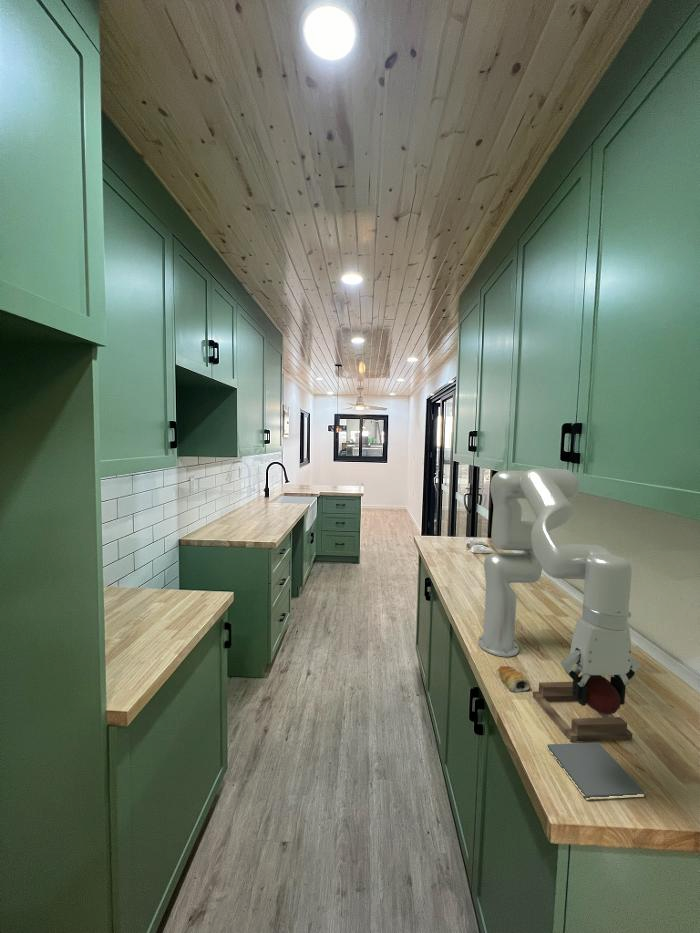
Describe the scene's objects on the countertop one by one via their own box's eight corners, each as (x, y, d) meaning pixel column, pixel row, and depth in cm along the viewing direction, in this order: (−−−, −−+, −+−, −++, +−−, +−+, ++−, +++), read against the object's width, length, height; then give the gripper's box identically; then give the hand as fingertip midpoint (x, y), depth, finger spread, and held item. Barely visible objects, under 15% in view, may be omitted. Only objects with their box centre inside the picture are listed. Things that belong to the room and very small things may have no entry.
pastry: (491, 672, 110) (492, 660, 110) (512, 671, 111) (513, 659, 111) (510, 694, 101) (511, 680, 100) (533, 692, 102) (534, 678, 102)
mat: (547, 748, 83) (547, 744, 82) (598, 746, 84) (598, 742, 83) (585, 800, 71) (586, 795, 71) (644, 797, 72) (645, 792, 72)
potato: (610, 697, 79) (613, 670, 79) (625, 727, 71) (628, 697, 70) (570, 688, 82) (572, 662, 81) (580, 716, 73) (582, 687, 73)
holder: (532, 696, 99) (533, 682, 99) (585, 695, 101) (586, 681, 100) (570, 742, 85) (571, 725, 84) (632, 739, 86) (633, 723, 86)
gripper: (629, 608, 79) (622, 687, 81) (551, 608, 78) (546, 689, 79) (661, 625, 72) (653, 712, 73) (576, 626, 71) (569, 715, 72)
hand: (597, 700), depth 76 cm, fingers closed on potato, 7 cm apart
